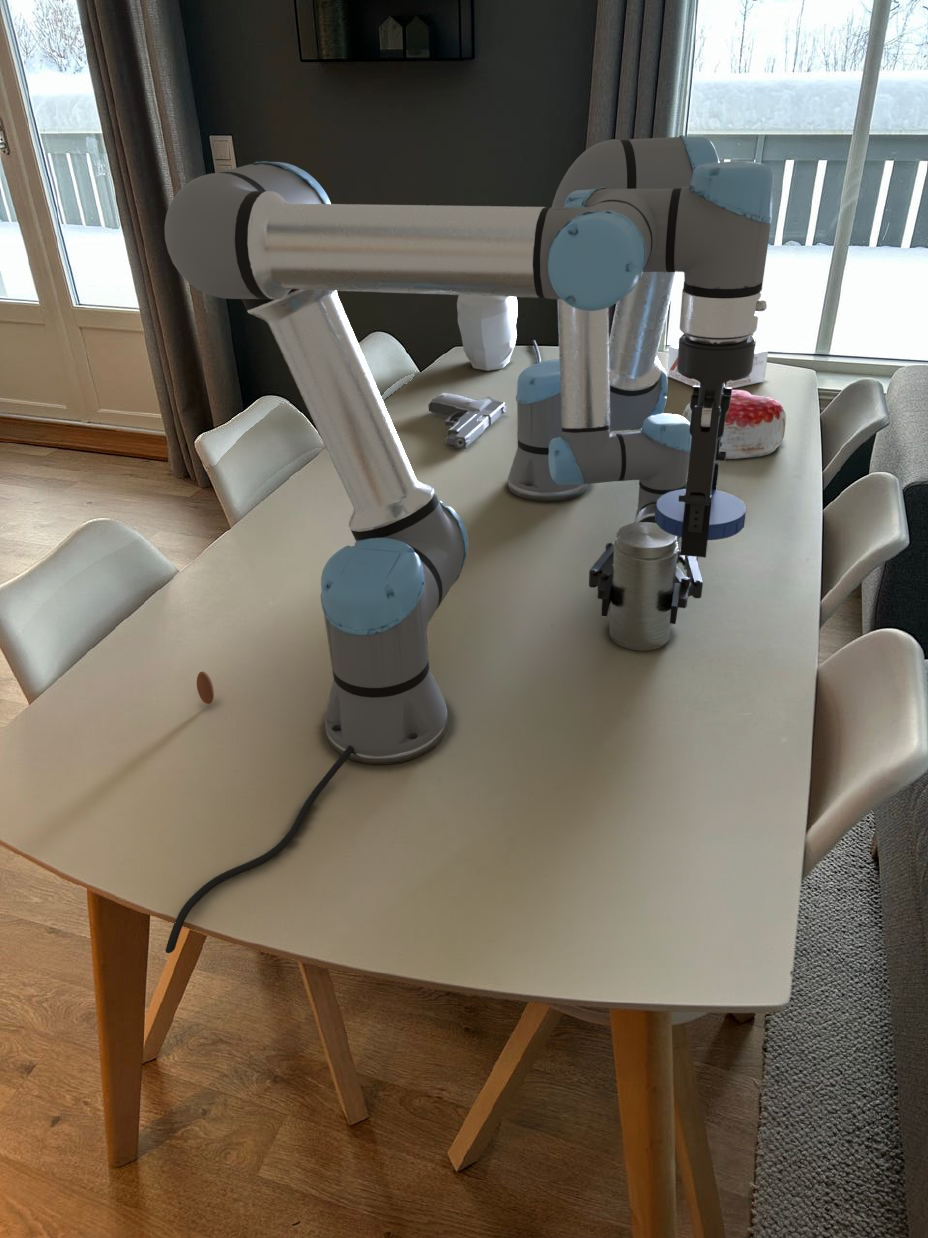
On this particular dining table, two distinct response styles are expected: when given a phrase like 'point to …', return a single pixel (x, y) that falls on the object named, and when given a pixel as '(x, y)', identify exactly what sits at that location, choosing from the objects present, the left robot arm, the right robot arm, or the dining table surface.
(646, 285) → the right robot arm
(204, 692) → the brown oval piece
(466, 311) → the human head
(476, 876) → the dining table surface
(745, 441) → the cake
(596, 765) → the dining table surface
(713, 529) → the lid
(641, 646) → the jar
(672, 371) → the white cardboard box
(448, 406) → the pistol
